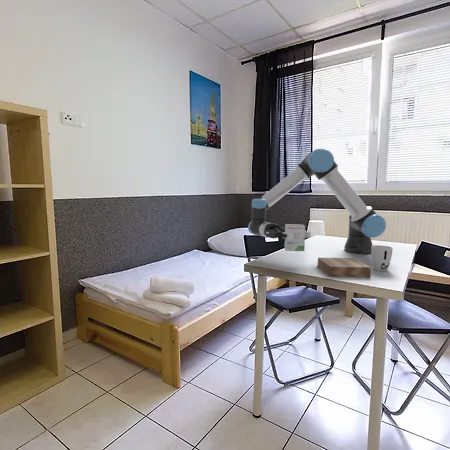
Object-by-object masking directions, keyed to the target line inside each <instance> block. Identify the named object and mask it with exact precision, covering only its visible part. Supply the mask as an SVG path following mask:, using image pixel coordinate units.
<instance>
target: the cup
mask: <svg viewBox="0 0 450 450" xmlns="http://www.w3.org/2000/svg"><path fill="white" fill-rule="evenodd" d="M372 245H373V244H372ZM393 249H394V248H393V246H388V245H381V244H380V245H375V244H374V245H373V246H371V253H370V254H371V262H372V264H371V265H372V266H373V270H375V271H378V270H381V271H380V272H387V271H388V269H389V267H390V264H391V261H392V256H393ZM386 270H387V271H386Z"/></svg>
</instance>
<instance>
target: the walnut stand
mask: <svg viewBox="0 0 450 450" xmlns="http://www.w3.org/2000/svg"><path fill="white" fill-rule="evenodd" d="M317 267H318V268H319V269H320V270H321V271H322V272H324V273H325V274H326V275H327V276H328V277H332V278H333V277H337V278H344V277H345V278H369V277H368V276H370V277H371V272H372V267H371V266H369V265H368V264H366V263H364V262H362V261H360V260H358V259H356V258H354V257H318V258H317Z"/></svg>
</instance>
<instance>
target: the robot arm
mask: <svg viewBox="0 0 450 450" xmlns="http://www.w3.org/2000/svg"><path fill="white" fill-rule="evenodd" d="M338 168H339V164H338V163H337V162H336V161H335V157H334V155H333V153H332V152H331V151H330V150H328V148H327V149H326V148H322V147H321V148H316V149H314V150H312V151H311V152H310V153H308V154H306V156H305V157H304V159H302V160H301V162H300V163H299V164H297V165H296V168H295V169H294V170H293V171H291V172H290V173H289V174H288V175H287V176H286V177H284V178H283V179H282V180H281V181H280V182H278V183H277V184H276V185H274V186H273V187H272V188H270V189H269V190H268V191H267V192H266V193H265V194H264V195H262V196H261V197H260V198H253V199H252V200H251V220H250V221H249V223H248V226H247V230H248V232H249V233H250V234H252V235H254V236H259V237H260V236H261V237H264V238H265V239H267V238H269V239H279V240H282V239H284V240H285V239H289V240H293V239H294V234H292V233H286V232H285V227H284V228H283V227H280V226H279V225H278V223H274V222H273V223H272V222H268V221H267V210H269V208H271V207H272V206H273V205H275V204H276V203H277V202H278V201H280V200H281V199H282V198H283V197H284V196H286V195H287V194H288V193H289V192H291V191H292V190H293V189H295V187H297V186H298V185H300V183H302V182H304V180H308V179H310V178H311V177H312V176H315V177H316V178H317V181H323V182H324V184H325V185H326V186H327V187H328V188H329V190H330V191H331V193H332V194H333V195H334V196H335V197H336V199H337V200H338V201H339V203H341V205H342V206H343V207H344V209H345V210H346V211H347V212H348V213H349V216H348V220H349V221H348V235H347V240H346V242H345V244H344V247H343V249H344V251H345V252H348V253H352V254H363V255H365V254H366V255H367V254H371V246H373V242H372V238H378V237H380V236H382V235H383V233H384V232H385V231H386V229H387V222H386V220H385V218H384V217H383V216H381V215H380V214H378V213H376V211H375V210H374V208H372V206H367V204H365V203H364V201H363V200H362V198H361V197H360V196H359V195H358V194H357V193H356V191H355V190H354V189H353V187H352V186H351V184H349V183H348V181H347V180H346V179H345V177H344V176H343V175H342V173H341V172H340V171H339V169H338ZM311 233H312V232H311V231H307V230H305V239H311V236H312V234H311Z"/></svg>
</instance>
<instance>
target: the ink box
mask: <svg viewBox="0 0 450 450" xmlns="http://www.w3.org/2000/svg"><path fill="white" fill-rule="evenodd" d="M284 228H285V232H286V233H292V234H294V239H293V240H289V239H284V246H283V247H284V251H286V252H305V246H306V245H305V239H306V238H305V231H306V225H305V224H301V223H300V224H297V223H296V224H295V223H294V224H293V223H292V224H289V223H285V224H284Z"/></svg>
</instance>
